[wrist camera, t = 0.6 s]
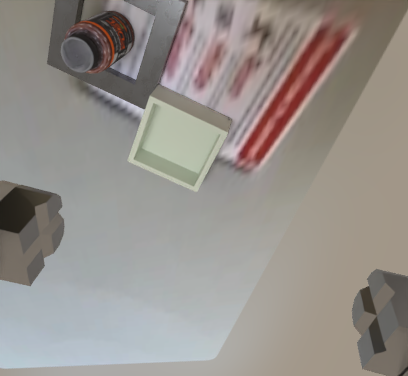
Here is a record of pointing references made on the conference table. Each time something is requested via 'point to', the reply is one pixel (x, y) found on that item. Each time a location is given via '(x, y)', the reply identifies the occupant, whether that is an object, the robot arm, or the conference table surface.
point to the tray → (178, 138)
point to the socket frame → (152, 60)
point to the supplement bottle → (97, 42)
